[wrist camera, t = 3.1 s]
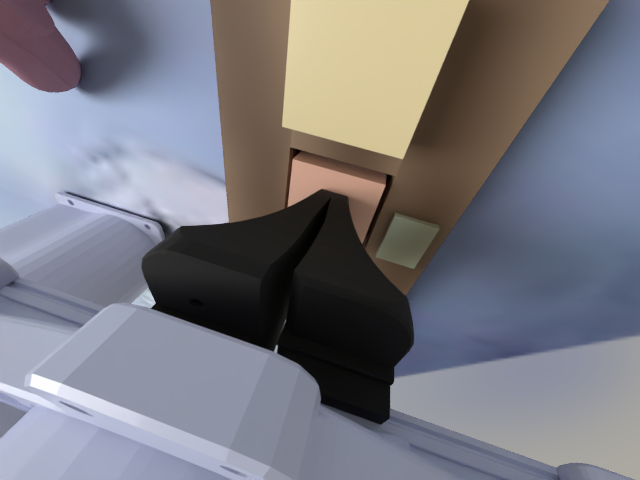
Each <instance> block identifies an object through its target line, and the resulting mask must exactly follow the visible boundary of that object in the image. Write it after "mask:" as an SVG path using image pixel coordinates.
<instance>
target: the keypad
mask: <svg viewBox="0 0 640 480" xmlns="http://www.w3.org/2000/svg"><path fill="white" fill-rule="evenodd" d="M210 2H211V14H212V26H213V38H214V50H215V62H216V73H217V85H218V97H219V109H220V121H221V133H222V144H223V156H224V168H225V180H226V192H227V204H228V215H229V223H232V222H238V221H244V220H248V219H252V218H257V217H261V216H265V215H268V214H271V213H274V212H277V211H280V210H282V209H285V208H287V207H288V198H289V189H290V180H291V171H292V162H293V158H294V157H295V156H296V155H298V154H299V153H300V152H301V151H306V152H310V153H313V154H317V155H320V156H324V157H328V158H331V159H335V160H338V161H342V162H346V163H349V164H353V165H357V166H360V167H364V168H367V169H371V170H375V171H378V172H382V173H386V174H388V176H387V179H386V185H385V188H384V191H383V193H382V196H381V198H380V201H379V203H378V206H377V208H376V211H375V213H374V216H373V218H372V221H371V223H370V226H369V228H368V231H367V233H366V236H365V238H364V241H363V243H362V245H363V247H364V248H365V250H366V252H367V253H368V255H369V256H370V258H371V259H372V260H373V262H374V263H375V264H376V266H377V267H378V268H379V269H380V270H381V272H382V273H383V274H384V275H385V276H386V277H387V278H388V279H389V280H390V281H391V282H392V283H393V284H394V285H395V286H396V287H397V288H398V289H399V290H400V291H401V292H402V293H403V294H404V295H405V296H406V295H407V294H408V292H409V291H410V289H411V288H412V286H413V285H414V284H415V282H416V281H417V279H418V278H419V276H420V275H421V273H422V272H423V270H424V269H425V268H426V266H427V265H428V263H429V262H430V260H431V259H432V257H433V256H434V254H435V253H436V252H437V250H438V249H439V247H440V246H441V244H442V243H443V241H444V240H445V238H446V237H447V236H448V234H449V233H450V231H451V230H452V228H453V227H454V225H455V224H456V223H457V221H458V220H459V218H460V217H461V215H462V214H463V212H464V211H465V209H466V208H467V207H468V205H469V204H470V202H471V201H472V199H473V198H474V196H475V195H476V193H477V192H478V191H479V189H480V188H481V186H482V185H483V183H484V182H485V180H486V179H487V178H488V176H489V175H490V173H491V172H492V170H493V169H494V167H495V166H496V164H497V163H498V162H499V160H500V159H501V157H502V156H503V154H504V153H505V151H506V150H507V148H508V147H509V146H510V144H511V143H512V141H513V140H514V138H515V137H516V135H517V134H518V132H519V131H520V130H521V128H522V127H523V125H524V124H525V122H526V121H527V119H528V118H529V117H530V115H531V114H532V112H533V111H534V109H535V108H536V106H537V105H538V103H539V102H540V101H541V99H542V98H543V96H544V95H545V93H546V92H547V90H548V89H549V87H550V86H551V85H552V83H553V82H554V80H555V79H556V77H557V76H558V74H559V73H560V71H561V70H562V69H563V67H564V66H565V64H566V63H567V61H568V60H569V58H570V57H571V56H572V54H573V53H574V51H575V50H576V48H577V47H578V45H579V44H580V42H581V41H582V40H583V38H584V37H585V35H586V34H587V32H588V31H589V29H590V28H591V26H592V25H593V24H594V22H595V21H596V19H597V18H598V16H599V15H600V13H601V12H602V10H603V9H604V8H605V6H606V5H607V3H608V2H609V0H469V2H468V4H467V7H466V9H465V12H464V14H463V16H462V19H461V21H460V24H459V26H458V28H457V31H456V33H455V36H454V38H453V40H452V43H451V45H450V48H449V50H448V52H447V55H446V57H445V60H444V62H443V64H442V67H441V69H440V72H439V74H438V76H437V79H436V81H435V84H434V86H433V88H432V91H431V93H430V96H429V98H428V100H427V103H426V105H425V108H424V110H423V112H422V115H421V117H420V120H419V122H418V124H417V127H416V129H415V132H414V134H413V136H412V139H411V141H410V144H409V146H408V148H407V151H406V153H405V156H404V158H403V159H400V158H396V157H392V156H389V155H385V154H381V153H378V152H374V151H370V150H367V149H363V148H359V147H355V146H352V145H348V144H344V143H341V142H337V141H333V140H329V139H326V138H322V137H318V136H315V135H311V134H307V133H304V132H300V131H296V130H292V129H289V128H285V127H282V119H283V105H284V91H285V78H286V64H287V50H288V36H289V22H290V8H291V0H210Z"/></svg>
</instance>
